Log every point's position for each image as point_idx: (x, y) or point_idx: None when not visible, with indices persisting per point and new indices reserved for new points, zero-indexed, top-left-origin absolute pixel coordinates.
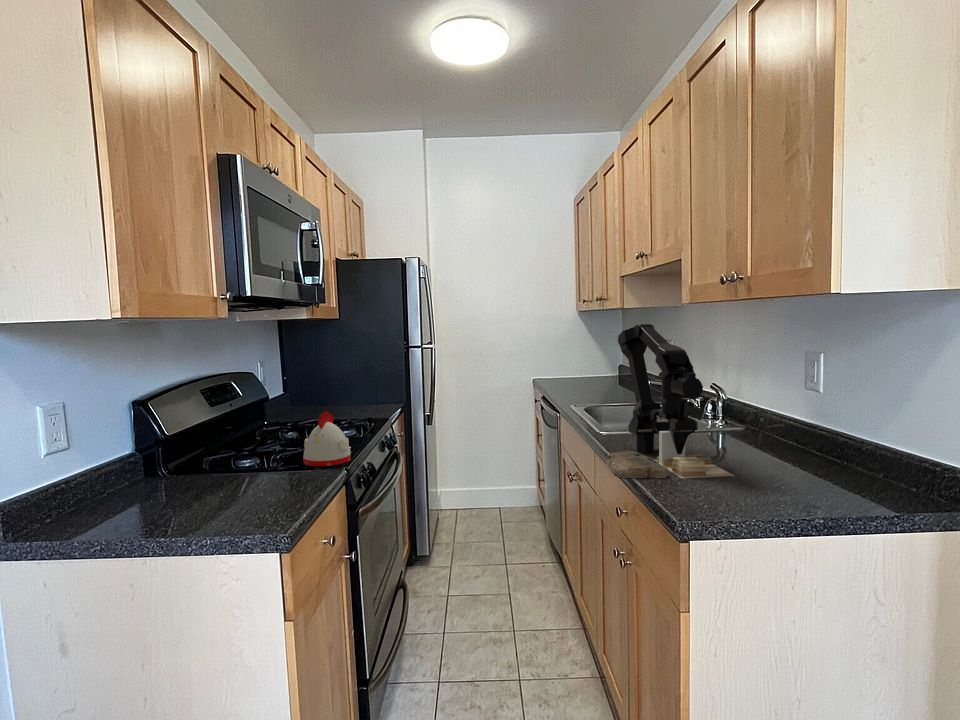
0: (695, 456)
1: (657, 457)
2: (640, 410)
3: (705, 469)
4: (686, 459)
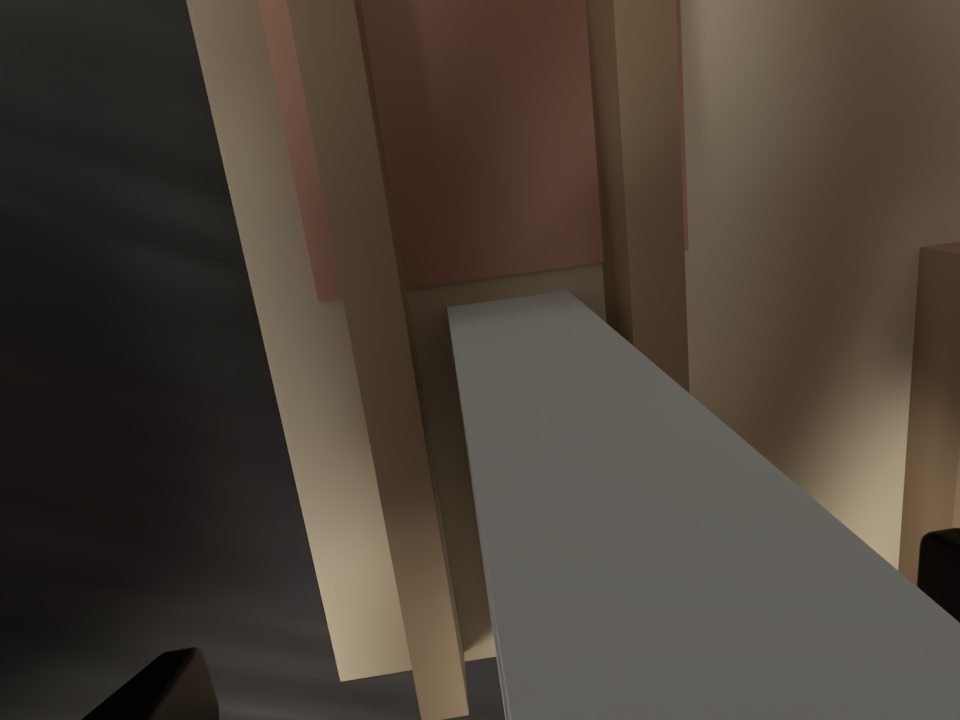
0: (354, 8)
1: (450, 709)
2: None
3: (949, 67)
4: None
